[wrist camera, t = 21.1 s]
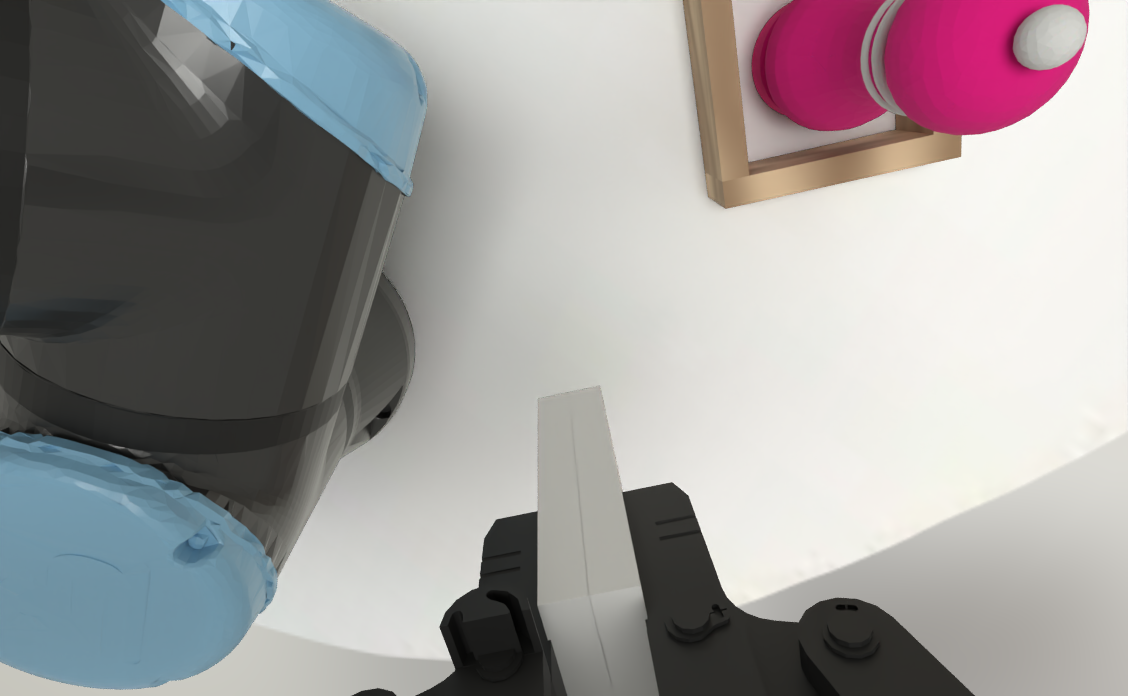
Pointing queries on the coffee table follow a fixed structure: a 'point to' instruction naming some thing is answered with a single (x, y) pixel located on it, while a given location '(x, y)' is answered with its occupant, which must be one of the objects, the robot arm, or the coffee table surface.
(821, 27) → the pepper mill
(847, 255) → the coffee table surface
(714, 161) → the cradle
